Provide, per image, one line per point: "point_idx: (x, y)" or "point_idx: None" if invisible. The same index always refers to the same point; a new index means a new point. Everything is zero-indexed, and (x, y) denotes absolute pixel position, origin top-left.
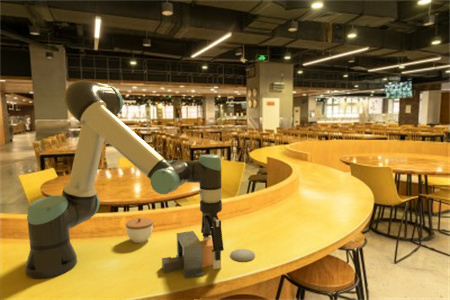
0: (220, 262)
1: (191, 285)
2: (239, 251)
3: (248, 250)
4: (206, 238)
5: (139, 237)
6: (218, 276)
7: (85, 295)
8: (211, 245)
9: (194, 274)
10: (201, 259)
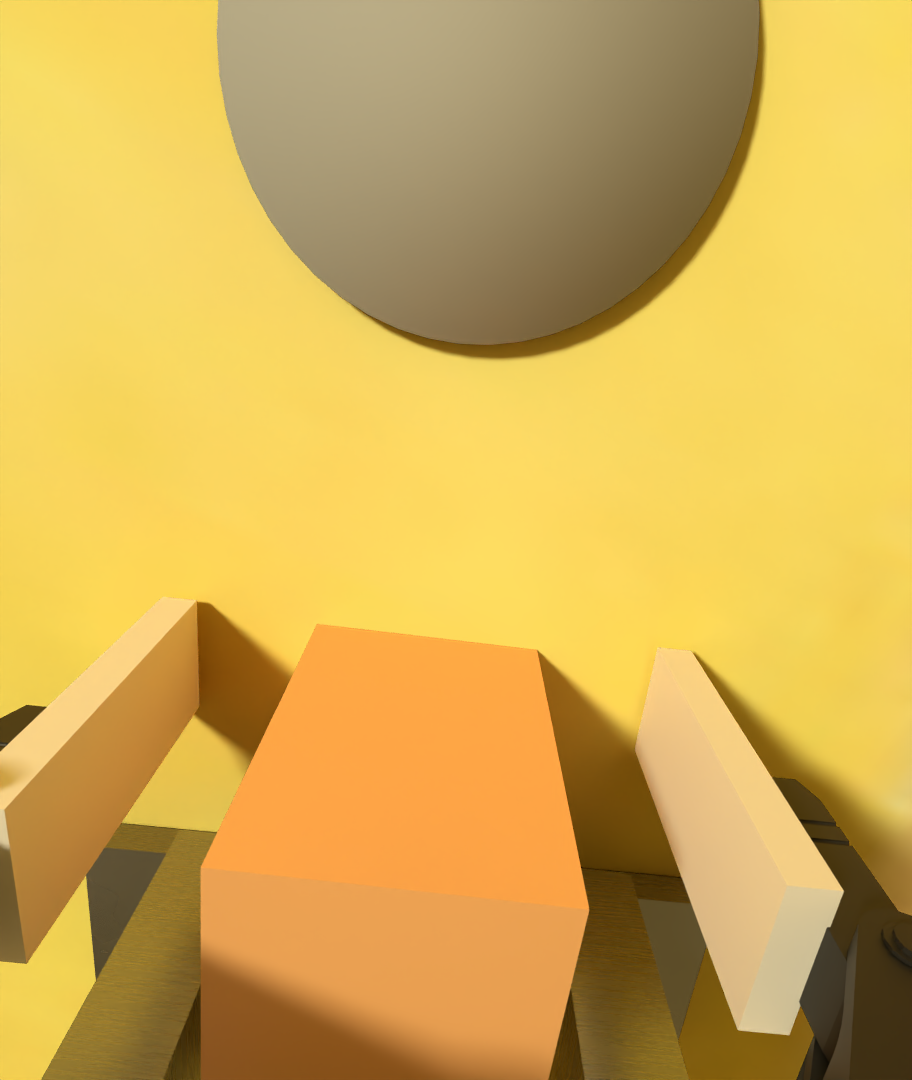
0: (722, 710)
1: (810, 1036)
2: (323, 50)
3: None
4: (30, 892)
5: None
6: (842, 754)
7: None
8: (553, 1002)
9: (687, 1000)
10: (677, 1060)
